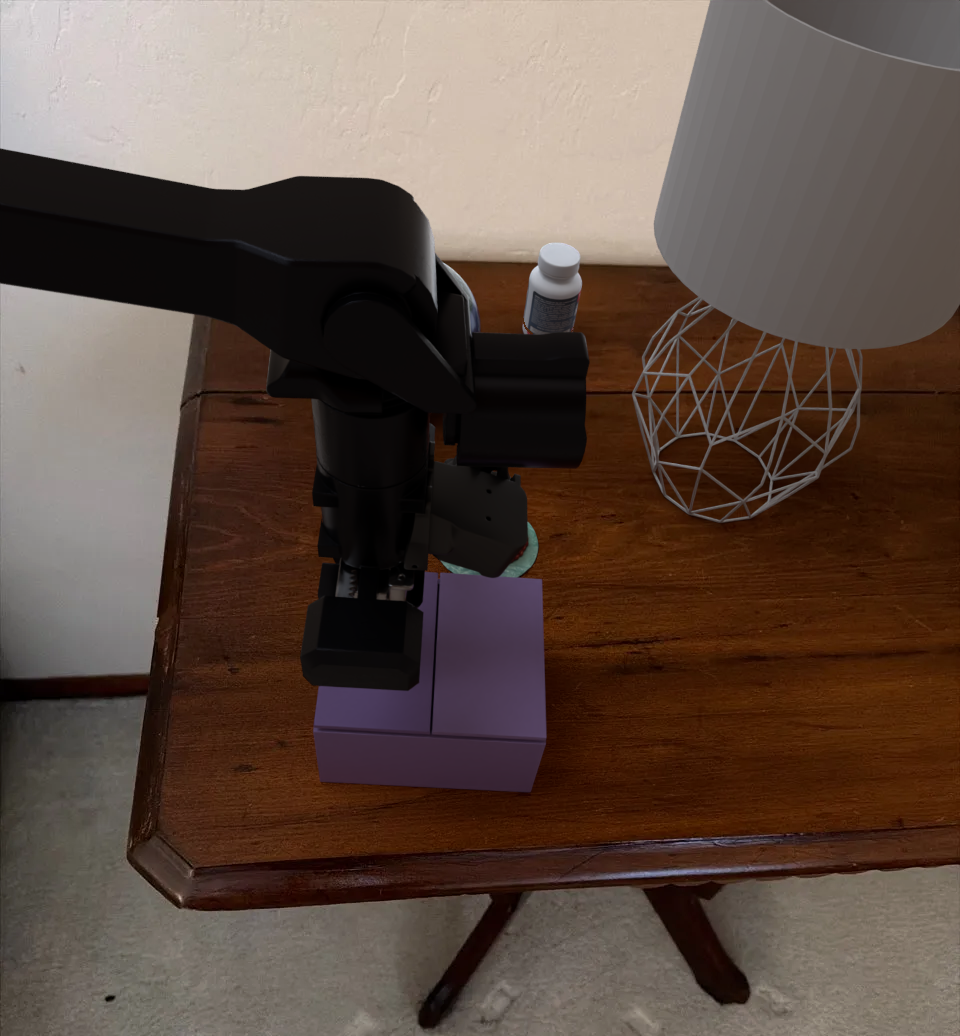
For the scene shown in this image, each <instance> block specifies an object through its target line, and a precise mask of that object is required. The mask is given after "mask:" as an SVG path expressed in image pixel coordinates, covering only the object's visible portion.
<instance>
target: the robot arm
mask: <svg viewBox="0 0 960 1036" xmlns="http://www.w3.org/2000/svg"><path fill="white" fill-rule="evenodd" d="M414 197H415V196H413V194H411V193H410V192H409V191H407V190H405V189H404V188H402V187H401V186H399V185H397V184H395V183H392V182H389V181H387V180H384V179H381V178H372V177H351V176H350V177H349V176H348V177H347V176H319V175H318V176H317V175H315V176H314V175H296V176H292V177H289V178H285V179H281V180H277V181H274V182H270V183H266V184H262V185H258V186H254V187H251V188H245V189H236V188H235V189H234V188H233V189H232V188H211V187H206V186H202V185H196V184H191V183H186V182H180V181H174V180H169V179H164V178H159V177H153V176H148V175H143V174H138V173H133V172H128V171H121V170H118V169H113V168H107V167H101V166H96V165H92V164H91V165H90V164H84V163H80V162H74V161H69V160H64V159H58V158H54V157H49V156H43V155H38V154H34V153H33V154H32V153H27V152H22V151H18V150H17V151H16V150H11V149H5V148H1V147H0V285H7V286H11V287H12V286H13V287H18V288H25V289H31V290H38V291H45V292H50V293H56V294H62V295H63V294H64V295H67V296H68V295H69V296H74V297H75V296H76V297H80V298H87V299H94V300H100V301H101V300H102V301H107V302H113V303H120V304H125V305H130V306H131V305H132V306H138V307H139V306H140V307H144V308H151V309H156V310H163V311H169V312H176V313H181V314H188V315H193V316H201V317H207V318H210V319H212V320H216V321H220V322H222V323H226V324H229V325H233V326H234V327H237V328H239V329H240V330H242V331H243V332H244V333H245V334H247V335H249V336H250V337H252V338H253V339H254V340H256V341H257V342H259V343H260V344H262V345H263V346H264V347H265V348H267V349H269V359H268V368H267V377H266V383H265V384H266V386H265V392H266V394H267V395H268V396H269V397H271V398H274V399H307V400H310V401H311V409H312V420H313V432H314V443H315V455H316V464H315V465H316V466H315V470H314V471H315V472H314V478H313V485H312V491H311V495H312V496H311V497H312V506H313V507H317V508H320V510H321V518H320V519H321V520H320V526H319V532H318V538H317V546H316V547H317V554H318V555H317V556H318V558H326V559H327V558H329V559H330V558H331V559H332V560H333V561H334V563H333V562H321V568H320V575H319V581H318V588H317V598H318V599H316V600H314V601H313V602H311V603H309V604H307V608H306V615H305V616H306V617H305V622H304V628H303V636H302V643H301V649H300V653H299V654H300V657H299V659H300V660H299V661H300V666H301V667H300V668H301V673H302V677H303V678H304V679H305V680H306V681H307V683H308V684H310V685H311V686H313V687H319V686H328V687H345V688H363V689H381V690H399V691H409V690H410V689H412V688H413V687H414V686H416V685H417V684H418V683H419V680H420V664H421V648H422V632H423V614H424V612H423V611H421V610H420V609H418V607H420V605H421V604H422V602H423V593H424V578H425V572H428V569H429V568H428V567H429V555H432V556H433V557H434V558H435V559H436V560H438V561H440V560H441V561H443V562H446V563H450V564H453V565H456V566H460V567H463V568H466V569H470V570H473V571H476V572H479V573H480V574H481V575H482V576H485V577H489V578H497V577H499V576H501V575H502V573H503V572H504V571H505V570H506V568H507V567H508V566H509V564H510V563H511V562H512V561H513V559H514V558H515V557H516V555H517V554H518V553H519V552H520V550H521V549H522V548H523V546H524V545H525V544H526V542H527V540H528V522H529V521H528V496H527V493H526V491H525V489H523V487H522V484H521V482H522V481H521V480H522V477H521V475H520V474H517V473H514V474H513V475H512V477H511V475H510V472H509V468H517V469H518V468H521V469H523V468H524V469H571V470H572V469H574V470H575V469H576V470H577V469H578V468H579V467H580V466H581V464H582V462H583V459H584V456H585V453H586V447H587V444H588V443H587V442H588V435H587V430H586V417H587V376H588V371H589V367H590V361H591V360H590V356H589V350H588V345H587V339H586V335H585V334H584V333H583V332H581V331H573V332H553V333H547V334H524V333H507V332H506V333H505V332H472V337H471V324H470V310H469V298H468V295H467V294H466V292H465V291H464V290H463V289H462V287H461V286H460V285H459V283H458V282H457V281H456V279H455V278H454V277H453V275H452V274H451V273H450V271H449V270H448V269H447V267H446V266H445V265H444V261H442V260H441V258H440V257H439V256H438V254H437V253H436V245H435V242H436V241H435V236H434V233H433V229H432V226H431V223H430V220H429V218H428V217H427V215H426V214H425V213H424V211H423V210H422V209H421V207H420V206H419V204H418V203H417V202H416V201H415V198H414ZM431 414H442V441H443V445H444V446H449V447H451V446H456V451H455V452H456V453H455V456H454V458H453V457H452V458H451V457H450V458H447V459H445V460H444V461H443V462H441V461H436V460H435V452H436V451H435V450H436V441H435V440H436V427H435V426H434V425H433V424H432V423H431ZM441 561H440V562H441Z"/></svg>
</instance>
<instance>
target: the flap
mask: <svg viewBox="0 0 960 1036" xmlns="http://www.w3.org/2000/svg"><path fill="white" fill-rule="evenodd" d="M438 579H439V572H433V571H425V578H424V593H423V602H422V604H421V605H420V607H418V609H420V610H421V611H423V612H424V614H423V632H422V648H421V664H420V680H419V683H418V684H417V685H416V686H414V687H413V688H412V689H410V690H409V691H399V690H381V689H363V688H345V687H328V686H318V689H317V697H316V703H315V704H316V705H315V713H314V718H313V719H314V720H313V729H314V728H325V729H343V730H360V731H377V732H395V733H412V734H430V719H431V700H432V681H433V662H434V643H435V624H436V605H437V587H438Z"/></svg>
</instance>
